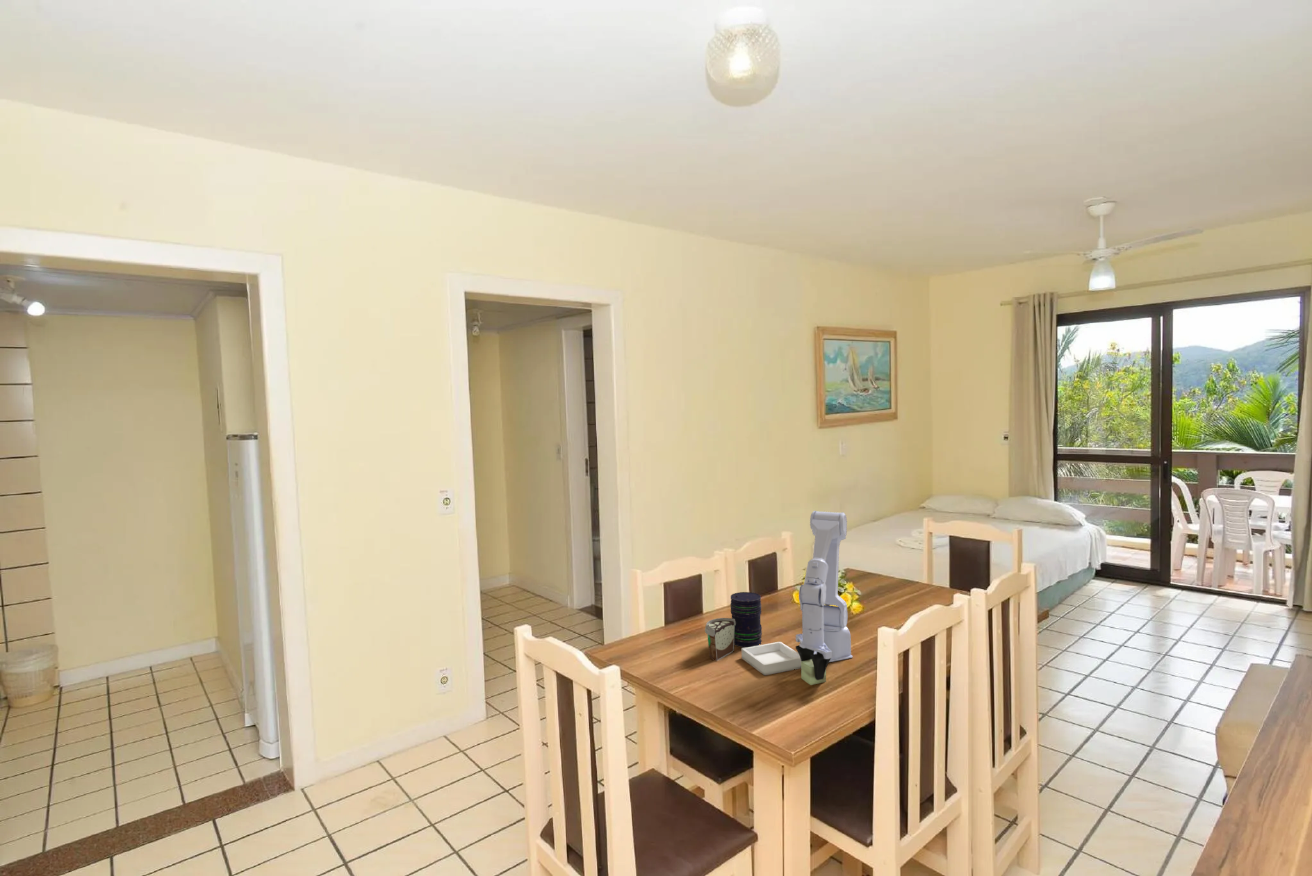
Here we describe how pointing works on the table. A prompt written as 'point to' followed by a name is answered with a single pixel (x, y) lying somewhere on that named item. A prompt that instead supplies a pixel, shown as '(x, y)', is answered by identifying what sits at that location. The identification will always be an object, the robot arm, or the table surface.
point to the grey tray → (772, 658)
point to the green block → (810, 673)
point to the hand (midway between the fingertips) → (813, 675)
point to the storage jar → (746, 618)
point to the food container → (720, 637)
